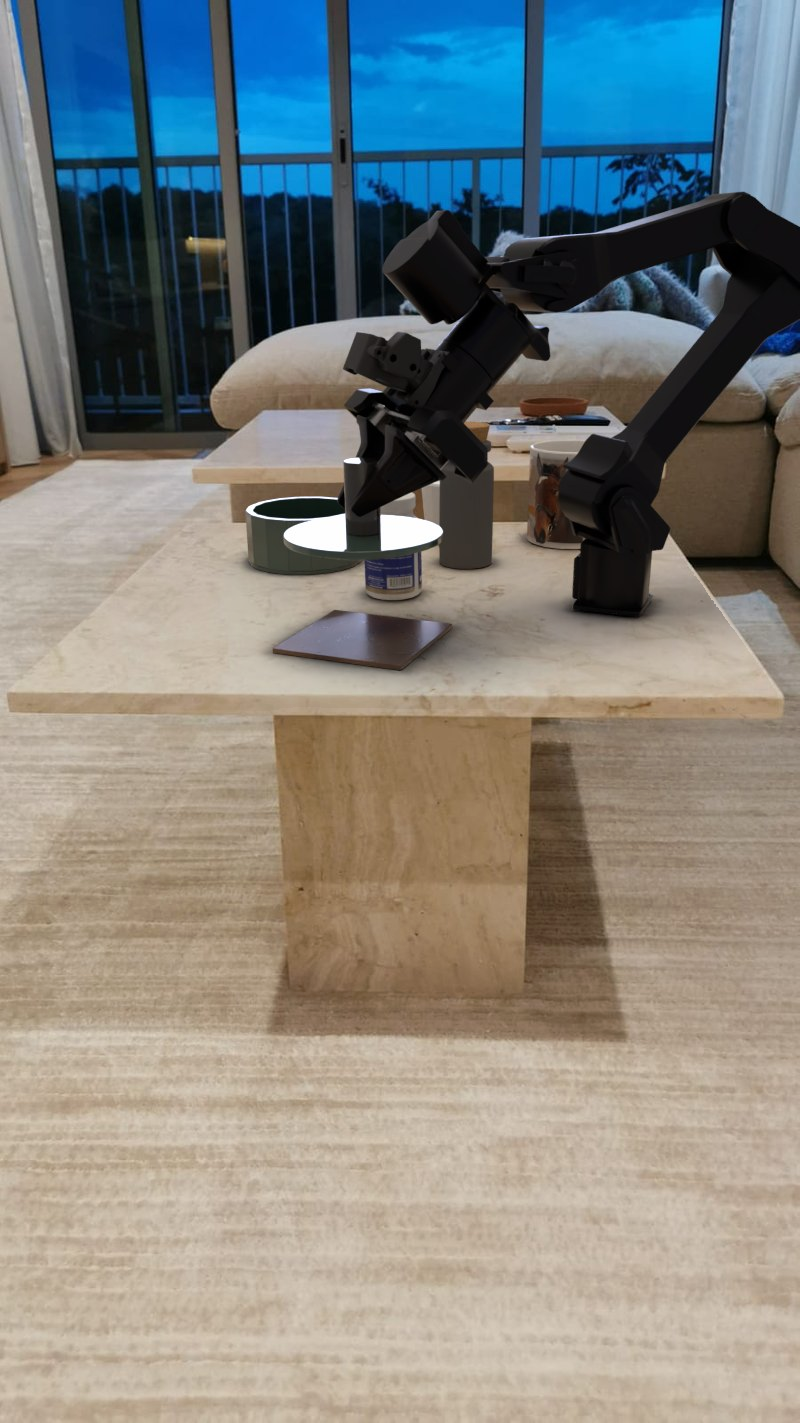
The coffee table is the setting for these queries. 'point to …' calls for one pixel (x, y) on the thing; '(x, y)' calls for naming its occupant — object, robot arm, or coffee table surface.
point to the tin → (272, 522)
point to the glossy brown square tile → (364, 639)
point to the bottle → (467, 513)
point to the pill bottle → (395, 563)
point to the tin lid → (362, 527)
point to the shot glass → (431, 502)
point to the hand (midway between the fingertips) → (347, 509)
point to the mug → (550, 494)
